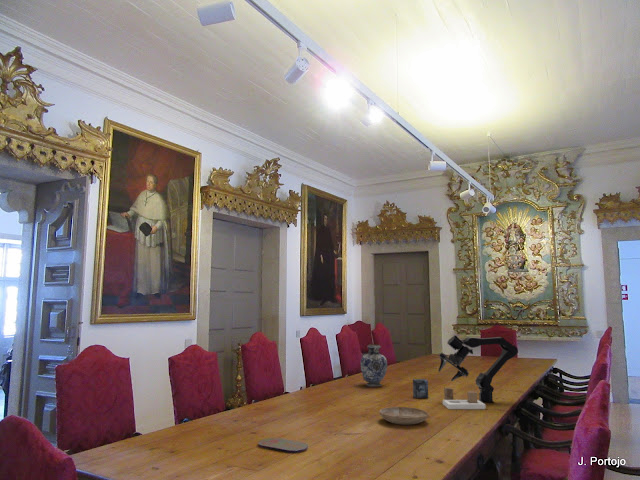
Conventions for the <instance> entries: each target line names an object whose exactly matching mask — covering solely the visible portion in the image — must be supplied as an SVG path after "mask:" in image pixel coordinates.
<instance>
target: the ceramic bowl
mask: <svg viewBox="0 0 640 480" xmlns="http://www.w3.org/2000/svg"><path fill="white" fill-rule="evenodd" d="M379 415H380V416H381V418H382V419H383V420H385V421H387V422H389V423H391V424H396V425H402V426H403V425H404V426H406V425H409V426H410V425H417V424H421V423H423V422H424V421H426V420H427V419H428V417H429V412H428V411H426V410H425V409H421V408H416V407H407V406H389V407H384V408H380V409H379Z"/></svg>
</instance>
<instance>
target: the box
mask: <svg viewBox="0 0 640 480" xmlns="http://www.w3.org/2000/svg"><path fill="white" fill-rule="evenodd" d="M412 396H413V398H415V399H429V380H428V379H425V378H413V379H412Z"/></svg>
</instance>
